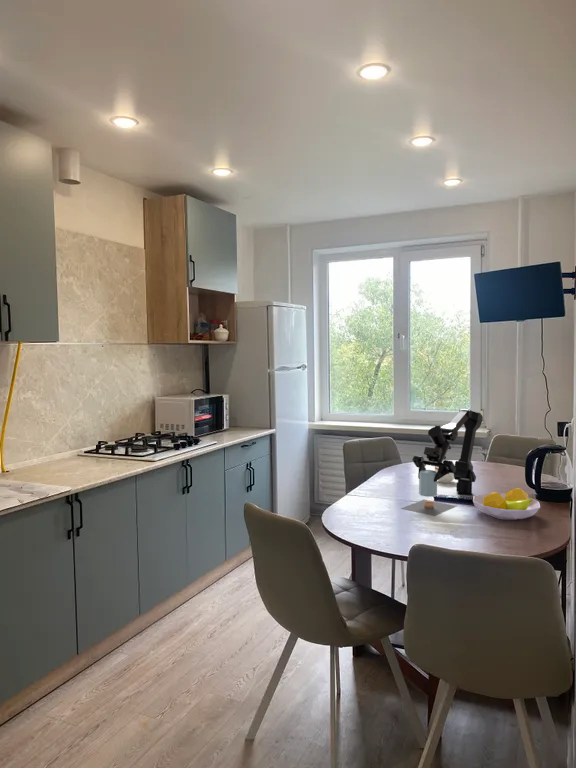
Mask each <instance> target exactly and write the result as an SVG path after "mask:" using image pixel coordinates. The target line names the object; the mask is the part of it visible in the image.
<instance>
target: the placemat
mask: <svg viewBox="0 0 576 768" xmlns="http://www.w3.org/2000/svg"><path fill="white" fill-rule="evenodd" d="M426 500H427V499H421V500H419V501H416V502H414V503H411V504H408V505H406V506H403V507H401V508H400V509H401V510H405V511H409V512H414V513H419V514H423V515H427V516H432V517H436V516H438V515H440V514H442V513H445V512H447V511H449V510H451V509H454V508H456V507H457V505H453V504H448V503H443V502H438V501H434V508H432V509H428V508H425V507H424V501H426Z"/></svg>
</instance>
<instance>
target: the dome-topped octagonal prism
mask: <svg viewBox="0 0 576 768" xmlns="http://www.w3.org/2000/svg"><path fill="white" fill-rule="evenodd" d="M418 473H419V472H418ZM436 473H437V472H436V471H435V470H433V469H426V470H421V471H420V473H419V478H418V494H419V495H420V496H421V497H428V498H429V497H430V498H431V497H436V496H438V480H437V481H436V482H434V478H435V476H436Z"/></svg>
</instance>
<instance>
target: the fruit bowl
mask: <svg viewBox="0 0 576 768" xmlns="http://www.w3.org/2000/svg"><path fill="white" fill-rule="evenodd" d="M472 502H473V505H474V506H475V508H476V509H477V510H479V511H480V512H481V513H483V514H486V515H488V516H491V517H493V518H496V519H498V520H517V519H521V520H524V519H526V518H530V517H533V516H534V515H535V514H536V513H538V511H539V510H540V508H541V505H540V502H539V501H538V500H536V499H533V498H532V497H530V498H529V495H528V493H527V492H526V491H524V490H523V489H522V488H520V487H517V488H512V489H511V490H508V491H507V492H506V493H500V492H497V491H492V492H490V493H489V492H488V493H487V492H486V493H482V494H481V493H480V494H476V495H473V498H472Z"/></svg>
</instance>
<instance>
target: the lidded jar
mask: <svg viewBox="0 0 576 768" xmlns="http://www.w3.org/2000/svg"><path fill="white" fill-rule="evenodd" d="M438 469H439V467H436V466H434V471H436V472H437V471H438ZM453 480H455V479H454V473H449V474H446V475H445V476H443V477H441V478H440V479H439V480H438V482H439V483H442V484H451V483H452V482H453Z"/></svg>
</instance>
